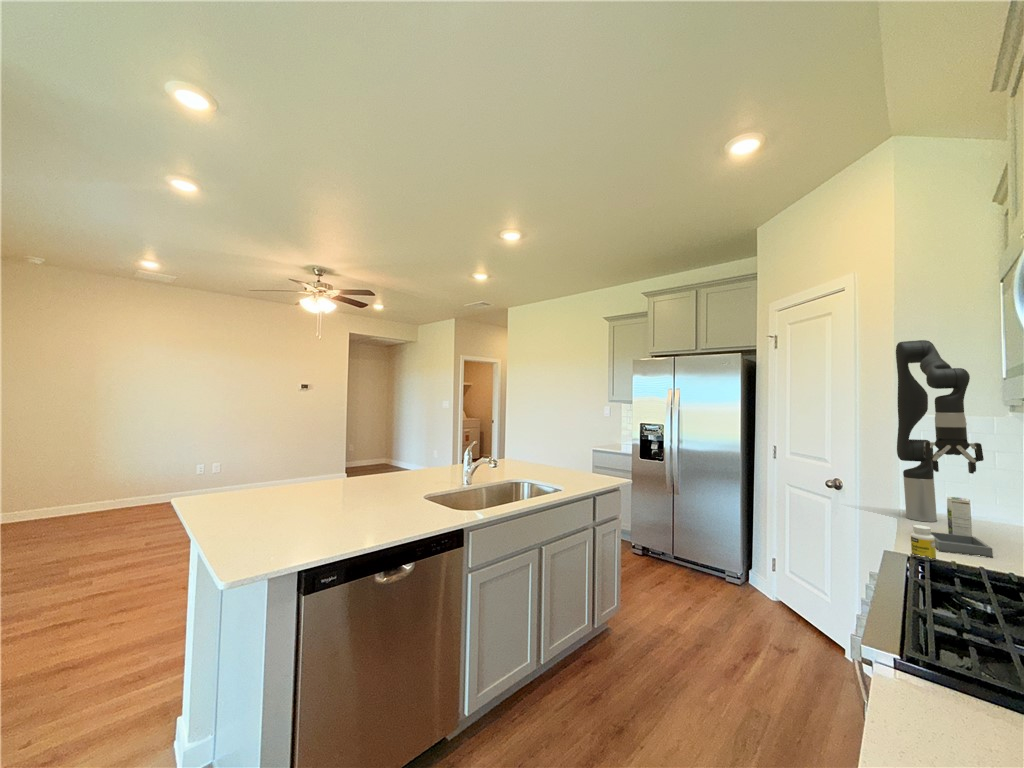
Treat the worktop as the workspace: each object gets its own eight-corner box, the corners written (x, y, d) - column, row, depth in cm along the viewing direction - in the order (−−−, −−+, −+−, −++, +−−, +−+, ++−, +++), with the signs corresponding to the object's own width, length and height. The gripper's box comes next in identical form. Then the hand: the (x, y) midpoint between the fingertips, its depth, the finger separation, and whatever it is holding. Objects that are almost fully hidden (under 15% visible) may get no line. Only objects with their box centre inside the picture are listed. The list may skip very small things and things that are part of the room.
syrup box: (948, 536, 152) (945, 496, 153) (972, 540, 147) (969, 498, 148) (949, 540, 148) (945, 498, 149) (973, 543, 143) (970, 500, 144)
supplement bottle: (908, 557, 131) (905, 525, 131) (917, 555, 133) (915, 523, 134) (930, 563, 126) (928, 529, 126) (940, 560, 128) (937, 527, 129)
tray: (926, 540, 148) (926, 531, 148) (975, 545, 141) (974, 536, 142) (939, 551, 136) (938, 541, 136) (992, 558, 130) (992, 548, 130)
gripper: (975, 425, 145) (979, 472, 145) (919, 424, 153) (922, 469, 152) (984, 426, 139) (987, 475, 138) (925, 425, 147) (928, 472, 146)
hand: (953, 472), depth 145 cm, fingers open, 8 cm apart
